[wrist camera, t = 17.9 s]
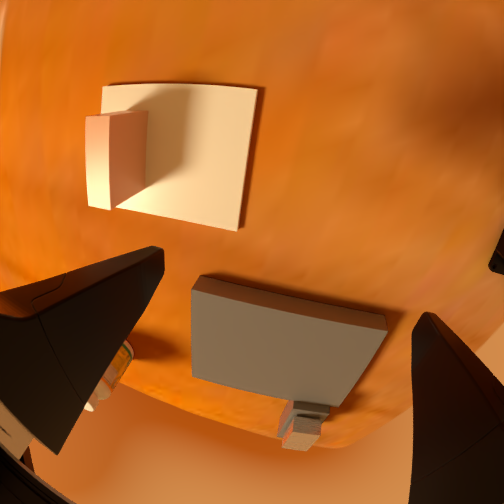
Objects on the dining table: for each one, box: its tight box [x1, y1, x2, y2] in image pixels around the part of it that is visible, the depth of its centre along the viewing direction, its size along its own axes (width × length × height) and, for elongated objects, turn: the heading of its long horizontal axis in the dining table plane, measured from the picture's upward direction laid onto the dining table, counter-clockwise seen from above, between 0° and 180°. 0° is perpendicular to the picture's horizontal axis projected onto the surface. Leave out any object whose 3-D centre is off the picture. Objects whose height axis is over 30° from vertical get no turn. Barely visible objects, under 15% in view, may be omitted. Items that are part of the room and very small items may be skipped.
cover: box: [85, 84, 258, 232], centre depth 17 cm, size 12×10×6 cm
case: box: [191, 276, 388, 438], centre depth 27 cm, size 16×20×3 cm
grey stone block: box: [282, 416, 322, 451], centre depth 26 cm, size 3×5×2 cm, turn 171°
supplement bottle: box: [84, 340, 134, 411], centre depth 28 cm, size 5×5×10 cm
